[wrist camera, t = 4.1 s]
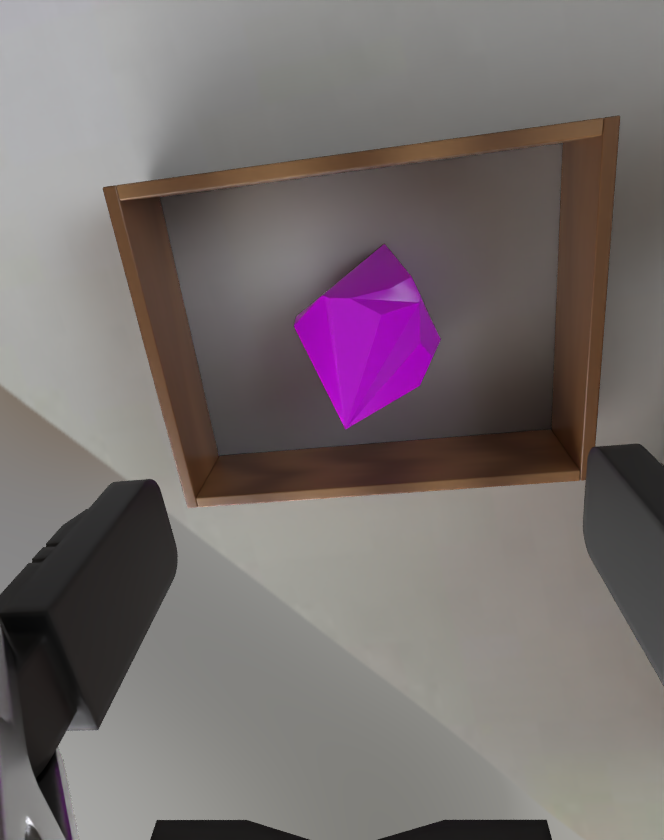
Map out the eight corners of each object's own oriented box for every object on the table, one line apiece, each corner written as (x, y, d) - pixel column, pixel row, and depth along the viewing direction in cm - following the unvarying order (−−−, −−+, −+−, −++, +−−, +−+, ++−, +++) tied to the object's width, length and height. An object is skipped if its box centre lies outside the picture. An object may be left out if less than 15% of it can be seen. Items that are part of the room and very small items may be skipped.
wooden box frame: (211, 464, 28) (187, 508, 24) (145, 185, 22) (101, 187, 19) (561, 437, 26) (593, 480, 22) (576, 126, 21) (621, 115, 17)
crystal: (445, 345, 24) (460, 380, 20) (337, 396, 26) (330, 439, 21) (394, 237, 23) (399, 250, 18) (282, 297, 24) (262, 323, 20)
